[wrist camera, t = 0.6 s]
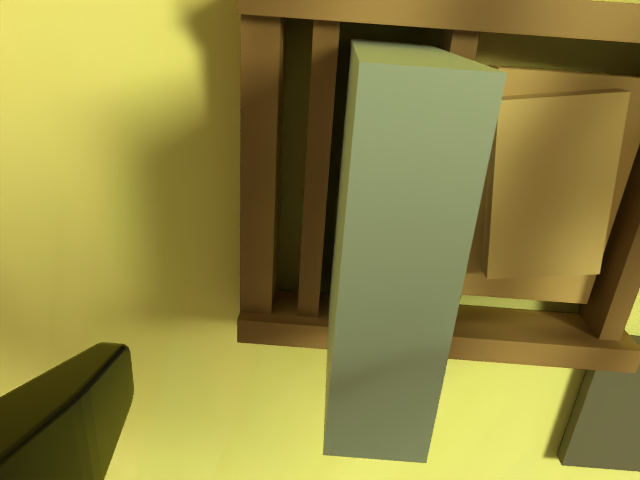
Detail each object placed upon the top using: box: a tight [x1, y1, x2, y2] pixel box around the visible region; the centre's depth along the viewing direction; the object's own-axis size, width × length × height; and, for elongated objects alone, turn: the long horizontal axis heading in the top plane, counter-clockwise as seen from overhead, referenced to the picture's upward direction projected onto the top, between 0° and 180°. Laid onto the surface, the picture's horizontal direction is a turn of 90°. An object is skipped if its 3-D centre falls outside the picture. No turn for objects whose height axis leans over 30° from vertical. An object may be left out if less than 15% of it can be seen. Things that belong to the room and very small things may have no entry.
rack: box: [237, 0, 640, 373], centre depth 18 cm, size 15×12×2 cm
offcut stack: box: [461, 65, 640, 304], centre depth 18 cm, size 5×8×2 cm, turn 176°
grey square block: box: [323, 39, 507, 463], centre depth 15 cm, size 3×9×9 cm, turn 176°
